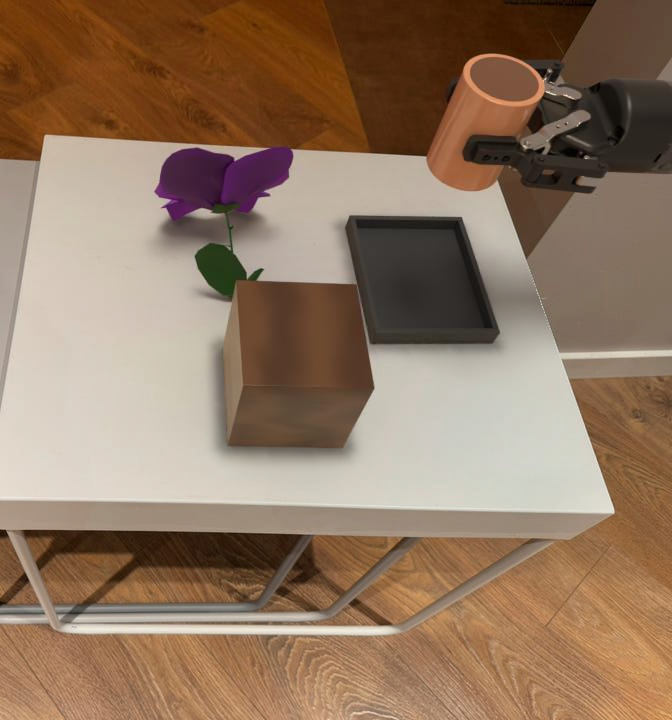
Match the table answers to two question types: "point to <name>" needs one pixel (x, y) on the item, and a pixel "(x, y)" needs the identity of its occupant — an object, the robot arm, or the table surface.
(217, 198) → the flower
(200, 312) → the table surface
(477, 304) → the tray
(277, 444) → the block
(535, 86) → the cup
